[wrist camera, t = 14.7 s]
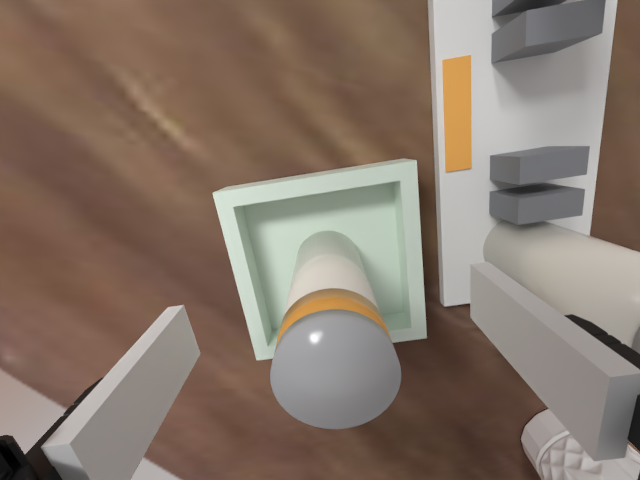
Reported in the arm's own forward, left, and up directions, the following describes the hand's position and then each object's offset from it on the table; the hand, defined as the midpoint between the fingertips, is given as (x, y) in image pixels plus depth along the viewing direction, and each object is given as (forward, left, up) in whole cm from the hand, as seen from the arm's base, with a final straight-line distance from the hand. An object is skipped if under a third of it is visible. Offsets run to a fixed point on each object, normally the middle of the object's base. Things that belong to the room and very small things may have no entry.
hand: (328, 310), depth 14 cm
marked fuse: (0, 0, -8) cm, 8 cm away
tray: (0, 0, -8) cm, 8 cm away
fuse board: (-8, +13, -8) cm, 17 cm away
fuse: (+1, +13, -8) cm, 15 cm away
